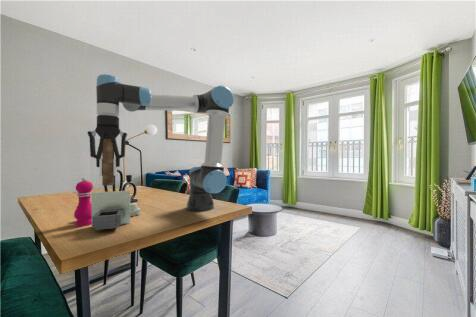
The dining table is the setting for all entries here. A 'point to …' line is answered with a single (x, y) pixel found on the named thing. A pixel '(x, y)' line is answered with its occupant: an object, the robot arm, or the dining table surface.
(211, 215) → the dining table surface
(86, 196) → the pepper mill
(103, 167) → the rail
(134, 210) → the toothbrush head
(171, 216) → the dining table surface
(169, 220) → the dining table surface
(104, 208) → the grey card holder
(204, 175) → the robot arm
